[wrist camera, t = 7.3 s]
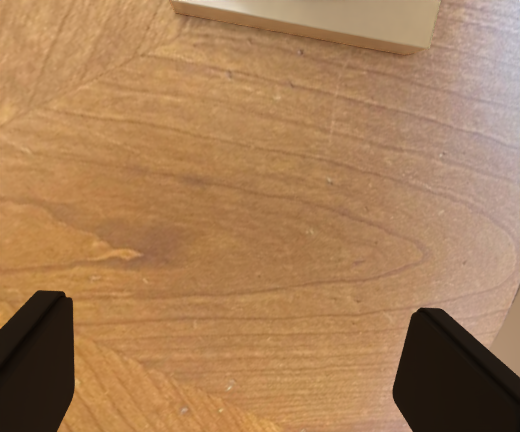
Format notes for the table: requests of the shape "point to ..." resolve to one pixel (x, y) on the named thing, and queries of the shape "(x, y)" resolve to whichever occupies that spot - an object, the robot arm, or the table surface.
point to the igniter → (330, 19)
